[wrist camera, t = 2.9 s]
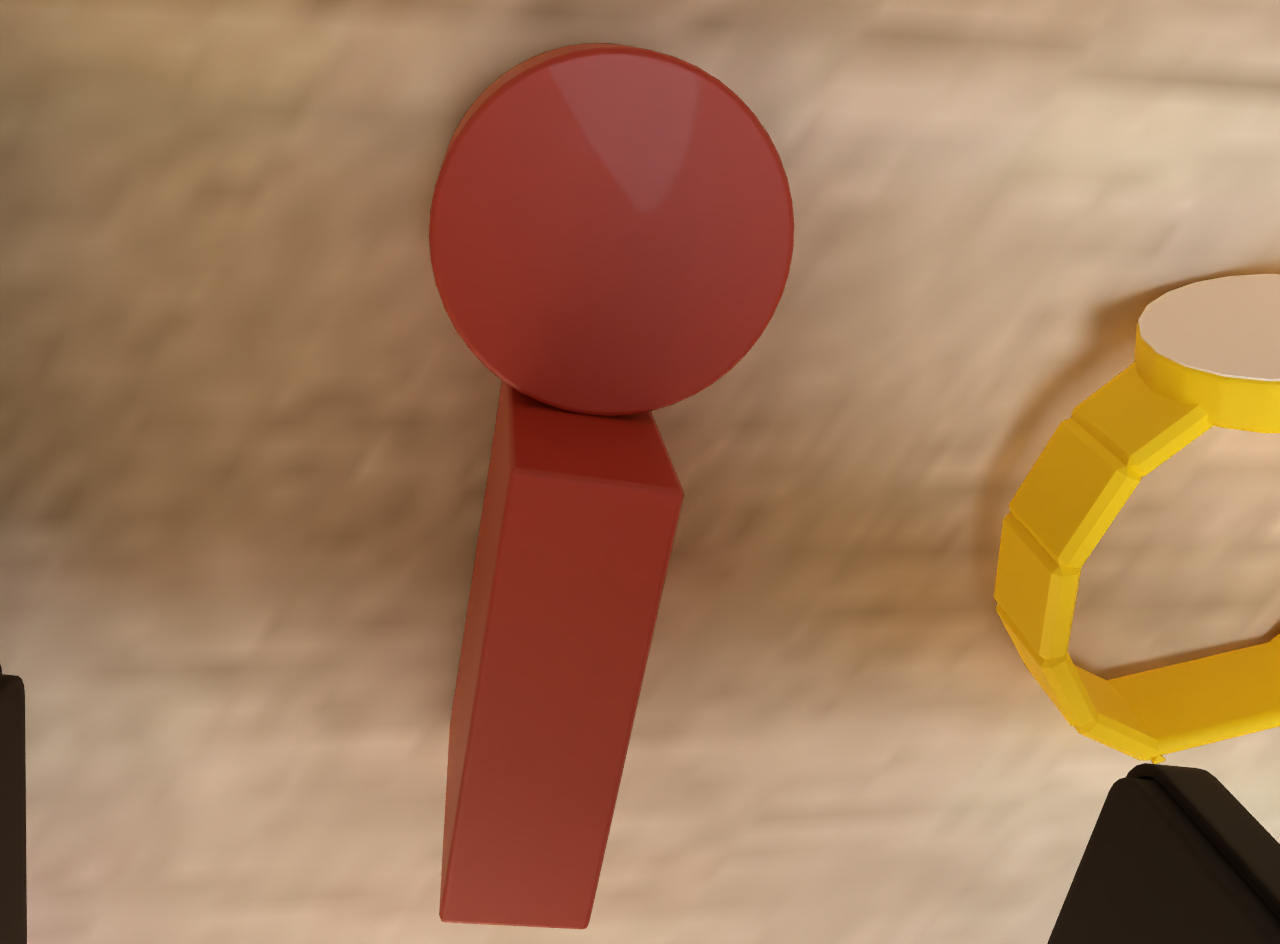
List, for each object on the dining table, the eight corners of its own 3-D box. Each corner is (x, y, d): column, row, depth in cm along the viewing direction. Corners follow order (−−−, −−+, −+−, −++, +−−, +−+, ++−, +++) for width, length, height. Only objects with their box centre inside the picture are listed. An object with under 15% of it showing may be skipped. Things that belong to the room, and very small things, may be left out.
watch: (1074, 846, 14) (1067, 454, 11) (978, 703, 16) (951, 347, 13) (1509, 712, 14) (1621, 293, 11) (1353, 589, 17) (1409, 217, 14)
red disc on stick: (459, 10, 11) (447, 8, 8) (788, 78, 12) (896, 99, 9) (373, 721, 14) (340, 920, 11) (639, 743, 15) (679, 937, 12)
